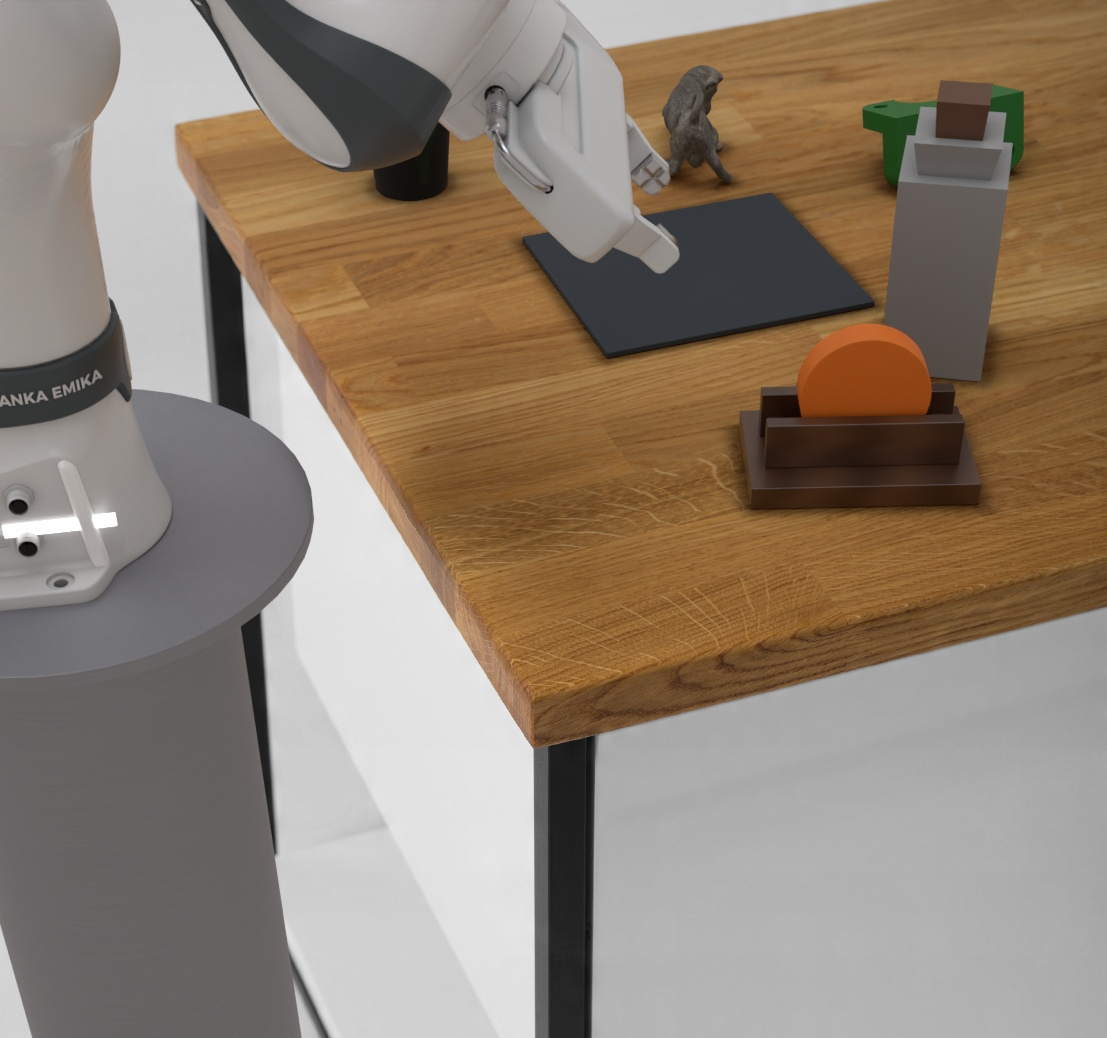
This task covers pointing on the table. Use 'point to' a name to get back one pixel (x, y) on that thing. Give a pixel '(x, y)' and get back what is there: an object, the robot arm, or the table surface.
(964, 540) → the table surface
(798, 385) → the disc
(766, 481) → the rack
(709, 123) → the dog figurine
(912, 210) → the perfume bottle
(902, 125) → the clamp
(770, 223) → the mat
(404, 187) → the cup
